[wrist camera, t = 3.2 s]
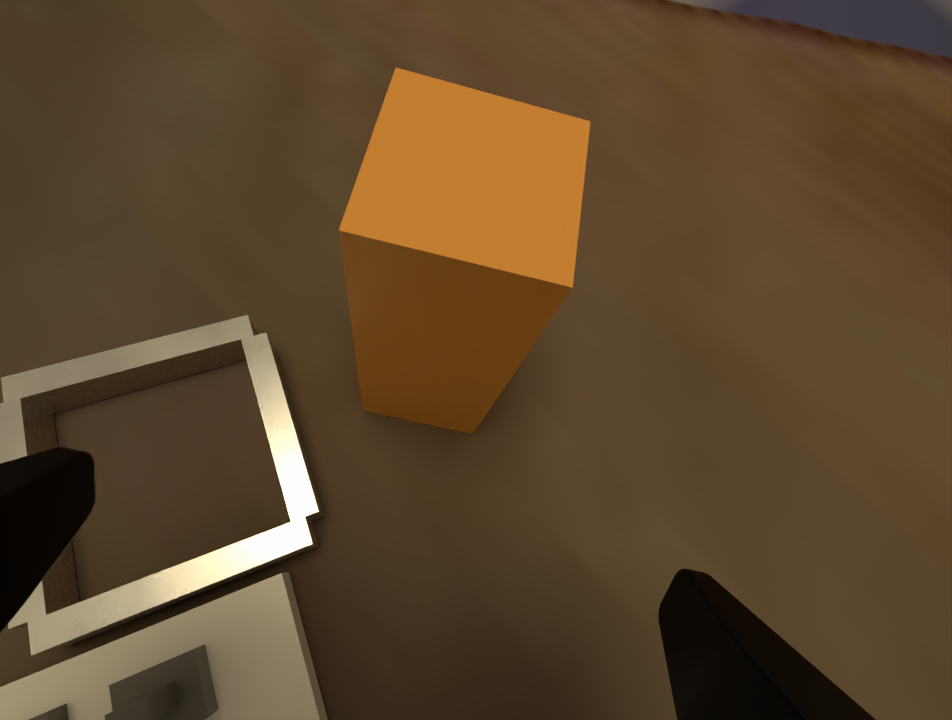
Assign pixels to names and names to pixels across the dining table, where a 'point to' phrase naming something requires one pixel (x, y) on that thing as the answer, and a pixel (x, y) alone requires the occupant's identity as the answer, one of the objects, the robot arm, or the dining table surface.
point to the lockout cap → (457, 246)
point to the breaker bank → (187, 668)
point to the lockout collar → (130, 369)
